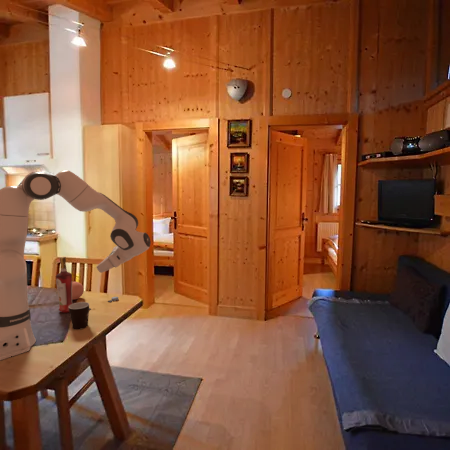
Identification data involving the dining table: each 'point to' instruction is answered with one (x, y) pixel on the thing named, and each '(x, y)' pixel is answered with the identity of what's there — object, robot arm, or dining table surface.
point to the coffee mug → (79, 315)
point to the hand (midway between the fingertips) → (100, 265)
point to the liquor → (64, 287)
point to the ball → (77, 290)
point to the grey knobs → (111, 300)
